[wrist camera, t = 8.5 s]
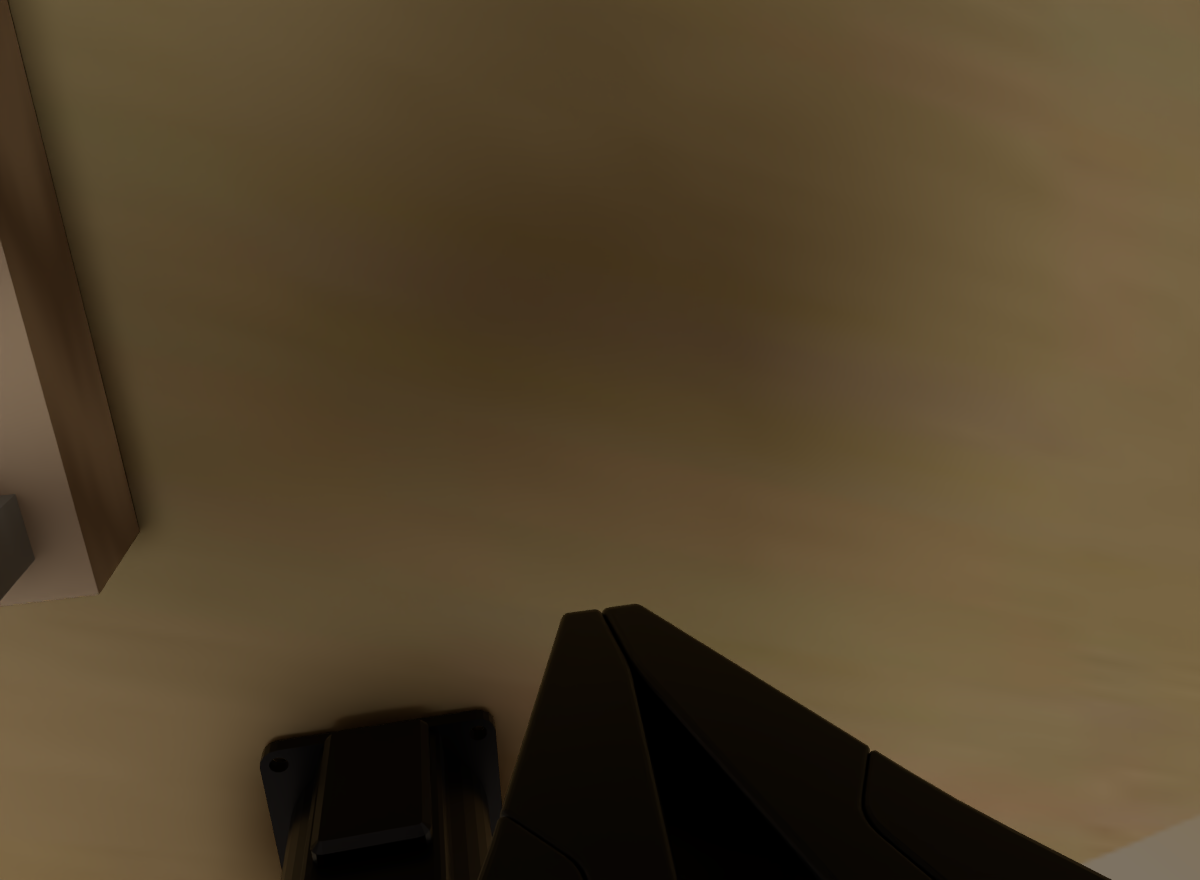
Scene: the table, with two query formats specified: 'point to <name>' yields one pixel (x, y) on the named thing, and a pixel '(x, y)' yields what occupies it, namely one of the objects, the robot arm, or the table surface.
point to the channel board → (48, 383)
